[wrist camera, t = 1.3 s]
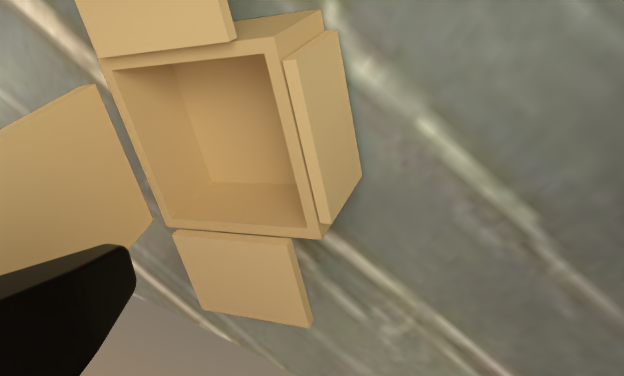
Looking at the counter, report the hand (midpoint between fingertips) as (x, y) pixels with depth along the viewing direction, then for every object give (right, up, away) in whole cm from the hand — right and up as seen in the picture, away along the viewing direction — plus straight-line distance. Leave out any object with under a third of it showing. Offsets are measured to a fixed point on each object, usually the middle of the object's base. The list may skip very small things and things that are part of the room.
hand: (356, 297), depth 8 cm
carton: (-3, +5, +14) cm, 15 cm away
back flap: (-9, +3, +12) cm, 15 cm away
